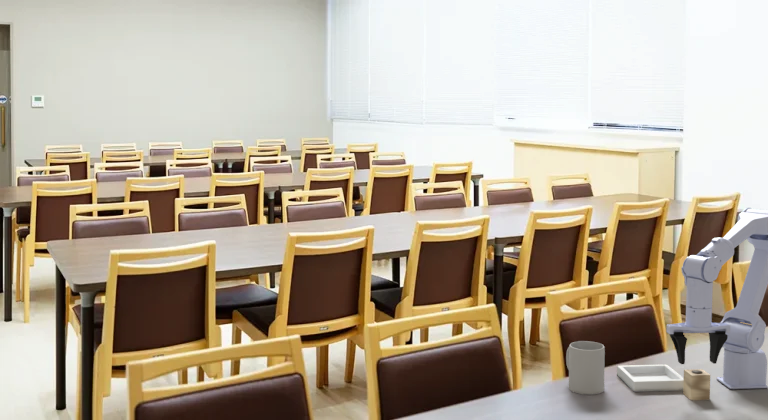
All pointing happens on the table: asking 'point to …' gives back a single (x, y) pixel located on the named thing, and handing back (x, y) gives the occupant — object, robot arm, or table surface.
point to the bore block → (696, 384)
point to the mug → (586, 367)
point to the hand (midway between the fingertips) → (697, 362)
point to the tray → (650, 377)
